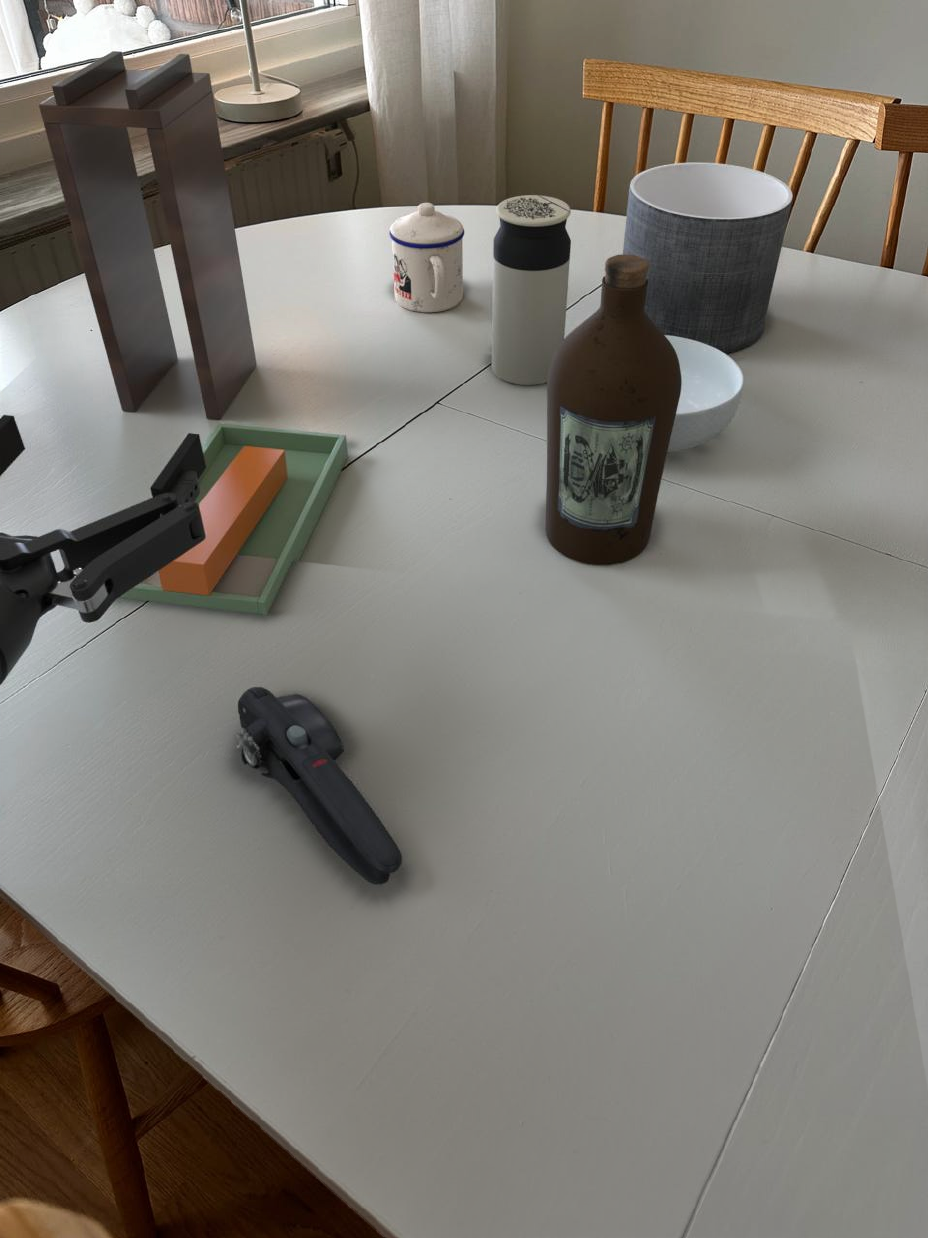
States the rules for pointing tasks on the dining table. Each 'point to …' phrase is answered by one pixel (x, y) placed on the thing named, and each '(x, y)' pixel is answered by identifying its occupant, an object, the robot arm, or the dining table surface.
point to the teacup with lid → (427, 260)
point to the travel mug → (529, 287)
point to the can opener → (315, 777)
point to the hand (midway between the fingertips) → (105, 440)
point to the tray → (286, 517)
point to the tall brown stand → (119, 232)
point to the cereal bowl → (703, 393)
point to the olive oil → (609, 423)
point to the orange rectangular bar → (228, 519)
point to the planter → (708, 248)
